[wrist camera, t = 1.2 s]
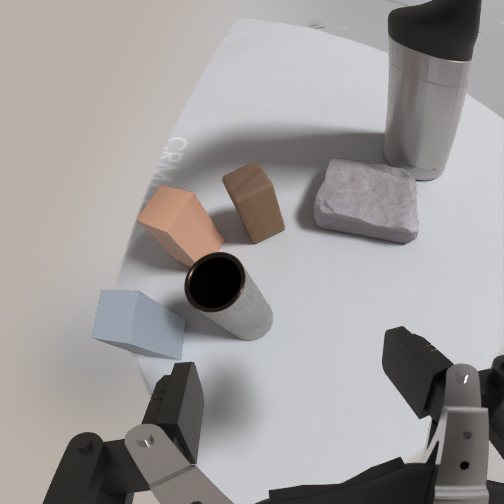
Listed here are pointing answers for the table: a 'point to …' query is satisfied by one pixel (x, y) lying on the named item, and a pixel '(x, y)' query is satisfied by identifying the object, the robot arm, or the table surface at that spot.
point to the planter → (228, 296)
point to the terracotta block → (180, 225)
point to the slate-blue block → (138, 325)
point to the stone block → (368, 201)
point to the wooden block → (255, 201)
